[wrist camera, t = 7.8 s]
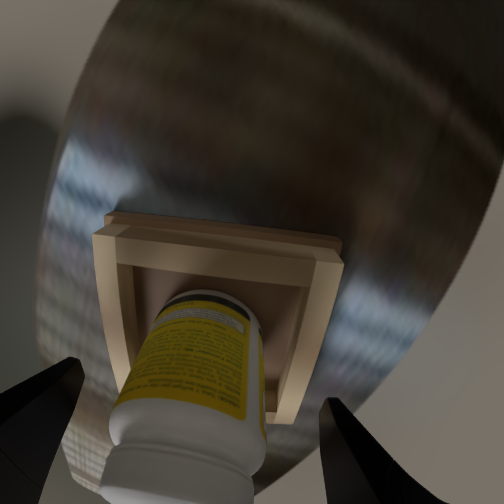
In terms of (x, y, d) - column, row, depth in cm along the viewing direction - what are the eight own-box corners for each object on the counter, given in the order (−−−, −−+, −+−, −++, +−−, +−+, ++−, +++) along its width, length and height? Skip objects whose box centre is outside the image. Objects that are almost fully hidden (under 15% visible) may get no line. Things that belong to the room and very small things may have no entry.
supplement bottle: (138, 312, 12) (51, 470, 4) (225, 266, 11) (182, 477, 3) (197, 381, 13) (168, 532, 6) (281, 350, 13) (298, 527, 5)
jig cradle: (293, 396, 15) (296, 427, 13) (130, 373, 15) (117, 401, 12) (337, 236, 11) (354, 257, 9) (112, 211, 11) (85, 225, 9)
